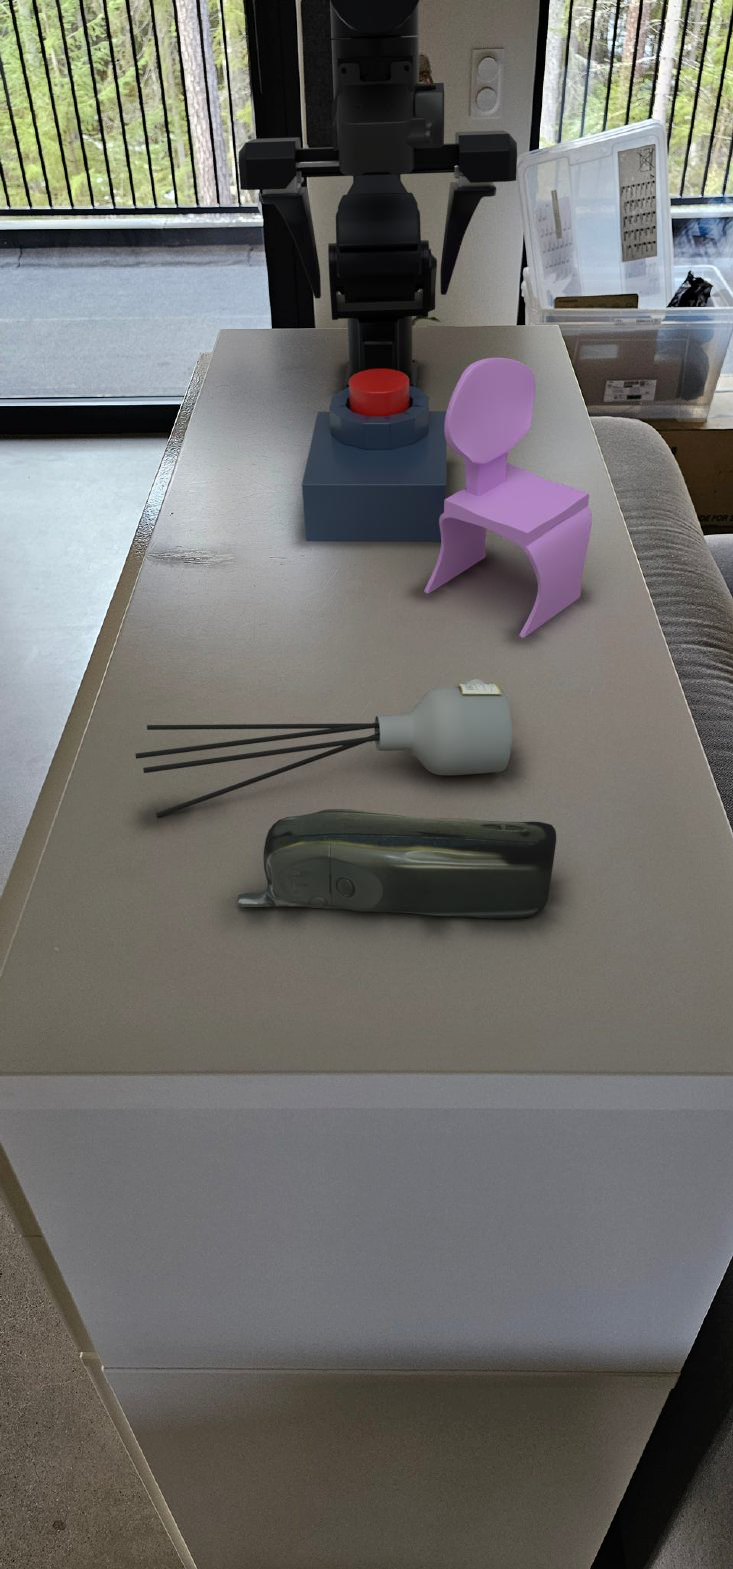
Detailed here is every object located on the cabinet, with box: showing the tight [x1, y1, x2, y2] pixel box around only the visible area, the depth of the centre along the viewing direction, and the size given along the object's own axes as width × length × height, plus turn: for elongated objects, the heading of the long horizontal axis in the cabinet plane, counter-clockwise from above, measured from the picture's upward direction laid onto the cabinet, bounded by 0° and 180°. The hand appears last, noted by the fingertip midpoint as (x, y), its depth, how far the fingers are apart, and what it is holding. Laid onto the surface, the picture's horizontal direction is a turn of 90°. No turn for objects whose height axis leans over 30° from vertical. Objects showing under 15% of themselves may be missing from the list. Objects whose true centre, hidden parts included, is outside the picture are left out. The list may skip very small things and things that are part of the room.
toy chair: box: [423, 357, 593, 639], centre depth 68 cm, size 8×9×15 cm
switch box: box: [301, 386, 448, 543], centre depth 81 cm, size 13×10×6 cm
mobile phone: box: [237, 808, 557, 920], centre depth 52 cm, size 5×3×15 cm
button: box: [349, 369, 409, 417], centre depth 81 cm, size 4×4×2 cm
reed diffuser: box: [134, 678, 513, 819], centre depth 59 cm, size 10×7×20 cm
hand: (380, 296), depth 80 cm, fingers open, 9 cm apart
